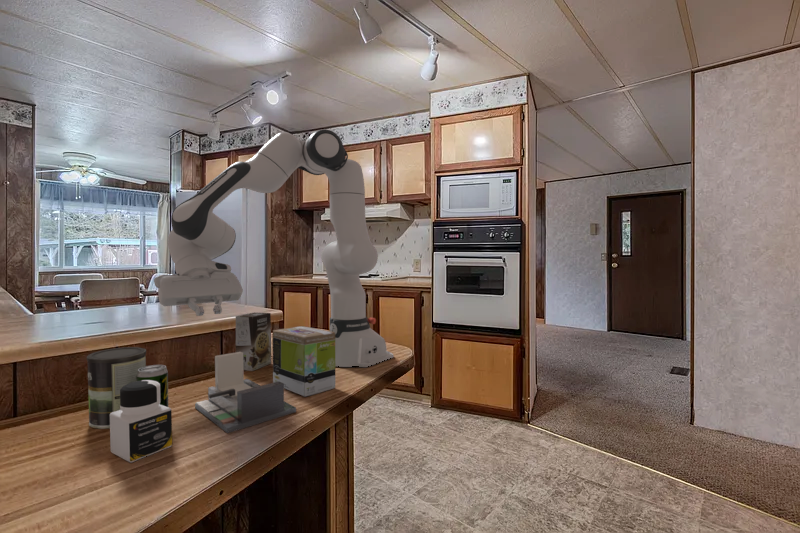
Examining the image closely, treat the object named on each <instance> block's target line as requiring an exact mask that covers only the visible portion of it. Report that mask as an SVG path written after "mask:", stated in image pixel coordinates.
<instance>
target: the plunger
mask: <svg viewBox="0 0 800 533" xmlns="http://www.w3.org/2000/svg"><path fill="white" fill-rule="evenodd" d="M244 371H245V370H243V352H236V351H235V352H230V353H225V354H217V355H215V356H214V372H215V373H214V375H215V376H214V377H215V378H214V379H215V380H214V382H215V386H214V387H216V388H217V389H219V390H221V391H222V392H217V393H213V394H209V398H213V397H218V396H222V395H226V394H227V395H229V396H230V397H232V398H233V399H235V400H237V391H241V390H245V389H250V388H252V387H250V386H249V385H247V384H245V383H244V378H245V376H244V375H245V374H244Z"/></svg>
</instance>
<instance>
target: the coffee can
mask: <svg viewBox="0 0 800 533" xmlns="http://www.w3.org/2000/svg"><path fill="white" fill-rule="evenodd" d="M146 354H147V349H146V348H144V347H137V346H131V347H130V346H128V347H115V348H108V349H102V350H98V351H95V352H94V351H93V352H92V353H89V354H87V356H86V361H87V388H88V389H87V390H88V395H87V396H88V426H89V427H90V428H92V429H99V430H105V429H106V430H108V429H109V430H110V413H112V412H115V411H119V410H120V389H121V388H122V387H123V386H125V385H127V384H129V383H132V382H135V381H136V375H137V373H138V369H139V368H142V367H146V366H147V364H146V363H147V361H146Z"/></svg>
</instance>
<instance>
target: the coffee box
mask: <svg viewBox="0 0 800 533" xmlns="http://www.w3.org/2000/svg"><path fill="white" fill-rule="evenodd" d="M271 315H272V313H271V312H251V313H245V314H241V315H235V352H243V371H249V372H253V371H256V370H258V369H261V368H263V367H266V366H268V365H271V364H272V342H271V341H272V337H271V336H272V332H271V331H272V330H271V329H272V328H271V326H272V325H271V317H272V316H271ZM270 328H271V329H270Z"/></svg>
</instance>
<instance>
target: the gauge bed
mask: <svg viewBox="0 0 800 533" xmlns="http://www.w3.org/2000/svg"><path fill="white" fill-rule="evenodd" d="M244 383H245V384H247V385H249V386H250V387H252V388H250V389H245V390H241V391H237V400H235V399H233V398H232V397H230V396H229V395H227V394H226V395H222V396H218V397H213V398H209V394H213V393H217V392H222V391H221V390H219V389H217V388H216V387H215V386H208V387H207V389H208V390H207V391H208V392H207V395H208V399H205V400H201V401H197V402H195V403H194V405H195V406H194V407H195V409H196V410H197V411H198V412H200V413H201V414H202V415H204V417H206V418H208V420H210V421H211V422H212V423H214V424H215V425H216V426H218V427H219V429H221V430H223V431H224V432H225V433H227V434H229V433H232V432H233V433H234V432H235V431H239V430H242V429H245V428H248V427H252V426H255V425H258V424H262V423H264V422H268V421H272V420H274V419H278V418H280V417H284V416H287V415H291V414H294V413H297V407H296V406H294V405H292V404H290V403H288V402H287V401H285V396H284V395H285V394H284V393H285V388H284V383H282V382H274V383H273V382H271V383H266V384H262V385H260V384H259V383H257V382H254V381H252V380H250V379H249V378H245V379H244Z"/></svg>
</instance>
